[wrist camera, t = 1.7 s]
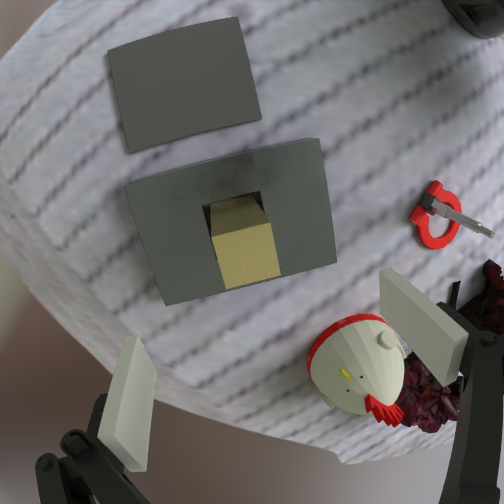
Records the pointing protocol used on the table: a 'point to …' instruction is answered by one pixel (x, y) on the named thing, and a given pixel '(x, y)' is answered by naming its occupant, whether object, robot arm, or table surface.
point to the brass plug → (243, 242)
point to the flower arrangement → (448, 398)
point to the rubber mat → (183, 83)
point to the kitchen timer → (359, 367)
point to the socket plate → (226, 186)
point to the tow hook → (433, 205)
